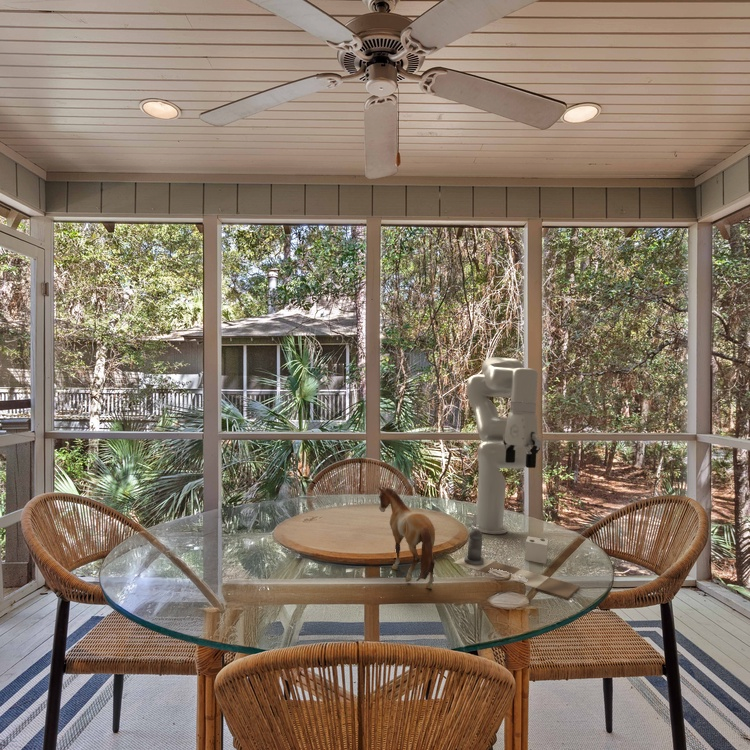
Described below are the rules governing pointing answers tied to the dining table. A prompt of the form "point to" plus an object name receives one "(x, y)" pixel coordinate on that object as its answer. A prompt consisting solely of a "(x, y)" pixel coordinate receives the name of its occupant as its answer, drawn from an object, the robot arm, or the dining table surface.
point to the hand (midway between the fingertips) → (520, 464)
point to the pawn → (474, 548)
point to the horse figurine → (410, 533)
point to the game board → (529, 578)
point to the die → (536, 549)
